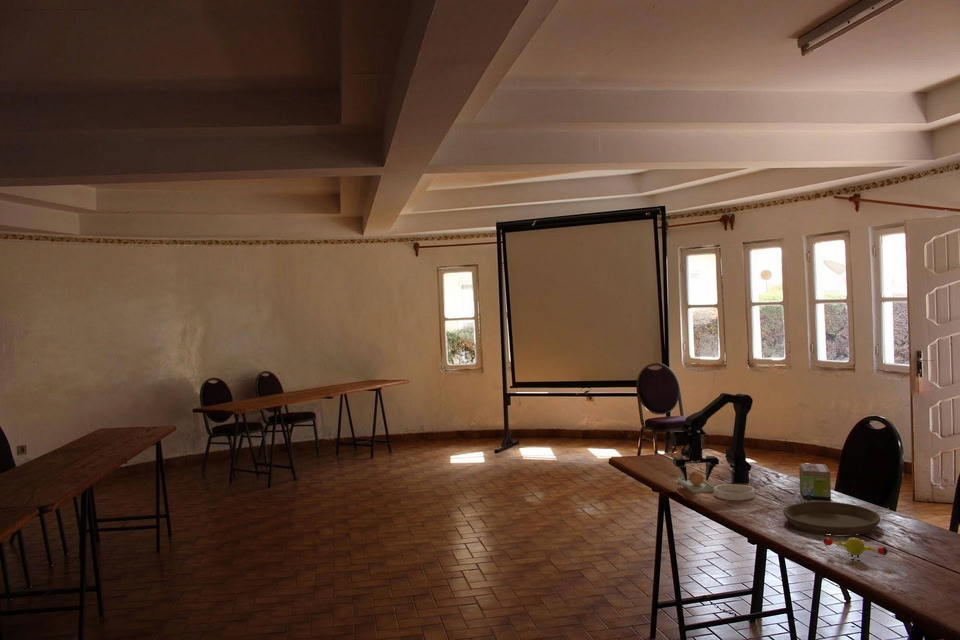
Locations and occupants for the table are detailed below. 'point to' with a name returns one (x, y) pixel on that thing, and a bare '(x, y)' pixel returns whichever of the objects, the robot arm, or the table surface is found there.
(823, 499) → the tea box
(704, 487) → the tray
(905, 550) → the table surface
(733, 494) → the bowl
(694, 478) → the ball
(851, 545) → the toy figure
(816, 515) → the plant saucer
